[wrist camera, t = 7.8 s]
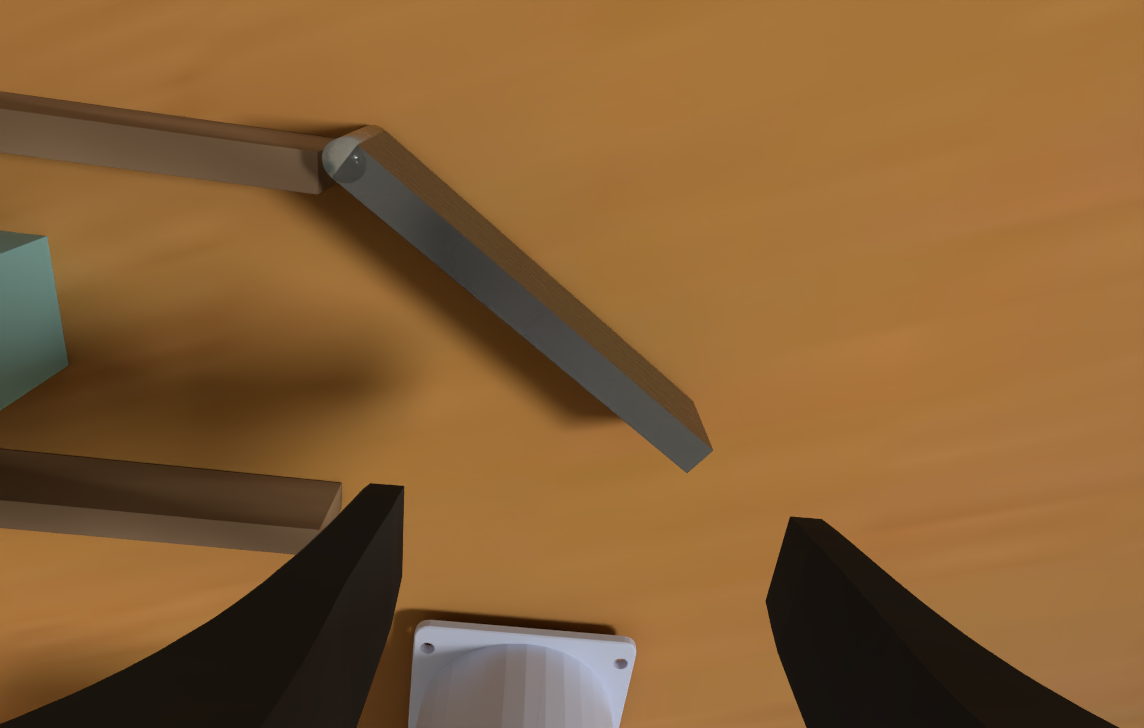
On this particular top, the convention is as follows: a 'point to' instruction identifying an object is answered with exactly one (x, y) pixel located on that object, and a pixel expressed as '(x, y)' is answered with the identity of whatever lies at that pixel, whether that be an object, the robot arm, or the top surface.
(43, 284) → the teal block
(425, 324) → the top surface
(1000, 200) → the top surface
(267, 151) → the bay
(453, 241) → the gate
